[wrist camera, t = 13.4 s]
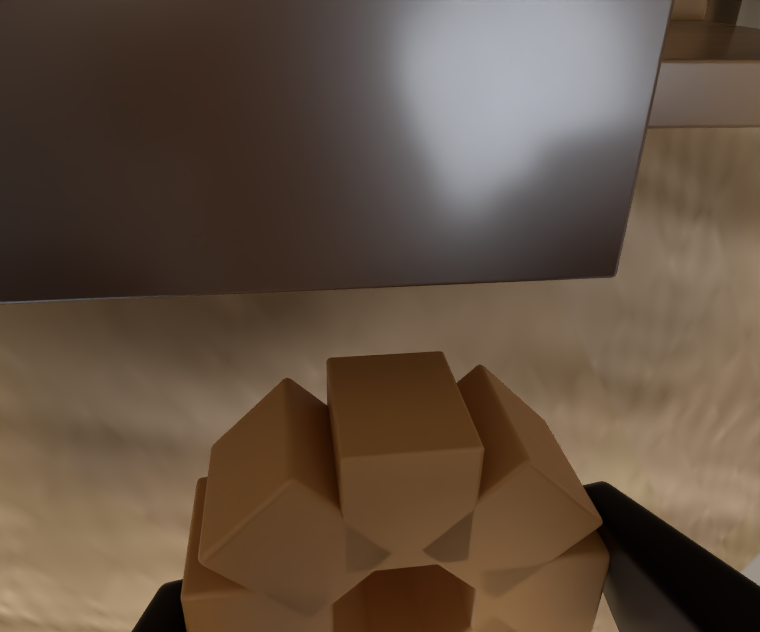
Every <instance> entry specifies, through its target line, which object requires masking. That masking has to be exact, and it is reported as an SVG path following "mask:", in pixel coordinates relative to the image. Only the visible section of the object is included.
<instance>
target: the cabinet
mask: <svg viewBox="0 0 760 632" xmlns="http://www.w3.org/2000/svg"><path fill="white" fill-rule="evenodd" d="M674 2H675V0H0V304H18V303H40V302H63V301H86V300H109V299H132V298H155V297H177V296H200V295H223V294H246V293H269V292H292V291H314V290H337V289H360V288H383V287H406V286H429V285H451V284H474V283H497V282H520V281H543V280H566V279H588V278H611V277H614V276H615V275H616V274H617V269H618V264H619V259H620V255H621V250H622V245H623V241H624V236H625V231H626V227H627V222H628V217H629V213H630V208H631V203H632V199H633V194H634V189H635V185H636V180H637V175H638V171H639V166H640V161H641V157H642V152H643V147H644V143H645V138H646V133H647V128H648V124H649V119H650V114H651V110H652V105H653V100H654V96H655V91H656V86H657V82H658V77H659V72H660V68H661V63H662V58H663V54H664V49H665V44H666V40H667V35H668V30H669V26H670V21H671V16H672V12H673V7H674Z"/></svg>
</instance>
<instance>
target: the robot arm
mask: <svg viewBox="0 0 760 632" xmlns="http://www.w3.org/2000/svg"><path fill="white" fill-rule="evenodd" d="M583 487H584V489H585V491H586V492H587V494H588V496H589V498H590V499H591V501H592V503H593V504H594V506H595V508H596V510H597V511H598V513H599V515H600V516H601V518H602V522H603V523H602V525H601V526H600V527H598V528H597V529H596V530H597V532H598V533H599V535H600V537H601V539H602V541H603V542H604V544H605V546H606V548H607V549H608V552H609V556H610V561H609V569H608V573H607V577H606V581H605V584H604V588H603V593H604V596H605V598H606V601H607V603H608V606H609V608H610V610H611V613H612V615H613V618H614V620H615V623H616V625H617V627H618V630H619V632H760V586H758V585H757V584H756V583H754V582H753V581H751V580H750V579H748V578H747V577H745V576H744V575H742V574H741V573H739V572H738V571H737V570H735V569H734V568H732V567H731V566H729V565H728V564H726V563H725V562H723V561H722V560H720V559H719V558H717V557H716V556H714V555H713V554H712V553H710V552H709V551H707V550H706V549H704V548H703V547H701V546H700V545H698V544H697V543H695V542H694V541H692V540H691V539H690V538H688V537H687V536H685V535H684V534H682V533H681V532H679V531H678V530H676V529H675V528H673V527H672V526H670V525H669V524H667V523H666V522H665V521H663V520H662V519H660V518H659V517H657V516H656V515H654V514H653V513H651V512H650V511H648V510H647V509H645V508H644V507H643V506H641V505H640V504H638V503H637V502H635V501H634V500H632V499H631V498H629V497H628V496H626V495H625V494H623V493H622V492H620V491H619V490H618V489H616V488H615V487H613V486H612V485H610V484H609V483H607V482H603V481H600V482H596V483H591V484H587V485H583ZM182 584H183V579H181V580H177V581H173V582H168V583H165V584H164V585H162V586H161V587H160V588H159V590H158V591H157V593H156V594H155V596H154V597H153V599H152V601H151V602H150V604H149V605H148V607H147V608H146V610H145V612H144V613H143V615H142V616H141V618H140V619H139V621H138V622H137V624H136V626H135V627H134V629H133V630H132V632H187V630H186V624H185V619H184V613H183V608H182V602H181V591H182Z"/></svg>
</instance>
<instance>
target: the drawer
mask: <svg viewBox="0 0 760 632" xmlns="http://www.w3.org/2000/svg"><path fill="white" fill-rule="evenodd" d="M708 2H709V0H675V2H674V7H673V12H672V16H671V21H670V26H669V30H668V35H667V40H666V44H665V49H664V54H663V58H662V63H661V68H660V72H659V77H658V82H657V86H656V91H655V96H654V100H653V105H652V110H651V114H650V119H649V124H648V128H647V129H657V128H745V127H760V0H742V3H741V7H740V11H739V15H738V19H737V22H736V25H732V24H726V23H719V22H713V21H707V20H704V19H705V15H706V10H707V6H708Z"/></svg>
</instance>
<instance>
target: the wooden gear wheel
mask: <svg viewBox="0 0 760 632" xmlns="http://www.w3.org/2000/svg"><path fill="white" fill-rule="evenodd" d="M602 523H603V522H602V518H601V516H600V515H599V513H598V511H597V510H596V508H595V506H594V504H593V503H592V501H591V499H590V498H589V496H588V494H587V492H586V491H585V489H584V487H583V486H582V484H581V482H580V480H579V479H578V477H577V475H576V474H575V472H574V470H573V468H572V467H571V465H570V463H569V462H568V460H567V458H566V456H565V455H564V453H563V451H562V450H561V448H560V446H559V444H558V443H557V441H556V439H555V438H554V436H553V434H552V432H551V431H550V429H549V427H548V426H547V424H546V422H545V421H544V420H543V419H542V418H541V417H540V416H539V415H538V414H536V413H535V412H534V411H533V410H532V409H531V408H530V407H529V406H528V405H526V404H525V403H524V402H523V401H522V400H521V399H520V398H519V397H518V396H516V395H515V394H514V393H513V392H512V391H511V390H510V389H509V388H507V387H506V386H505V385H504V384H503V383H502V382H501V381H500V380H499V379H497V378H496V377H495V376H494V375H493V374H492V373H491V372H490V371H488V370H487V369H486V368H485V367H484V366H482V365H478V366H476V367H475V368H474V369H473V370H471V371H470V372H469V373H468V374H467V375H466V376H464V377H463V378H462V379H461V380H460V381H459V382H457V383H456V381H455V379H454V377H453V374H452V372H451V370H450V367H449V365H448V363H447V360H446V358H445V356H444V353H443V352H440V351H438V352H421V353H404V354H387V355H370V356H352V357H335V358H329V359H328V360H327V405H326V404H324V403H323V402H322V401H320V400H319V399H317V398H316V397H315V396H313V395H312V394H311V393H309V392H308V391H307V390H305V389H304V388H302V387H301V386H300V385H298V384H297V383H296V382H294V381H293V380H292V379H289V378H286V379H284V380H282V381H281V382H280V383H279V384H278V385H277V386H276V387H275V388H274V389H273V390H272V391H271V392H270V393H269V394H267V395H266V396H265V397H264V398H263V399H262V400H261V401H260V402H259V403H258V404H257V405H256V406H255V407H253V408H252V409H251V410H250V411H249V412H248V413H247V414H246V415H245V416H244V417H243V418H242V419H241V420H239V421H238V422H237V423H236V424H235V425H234V426H233V427H232V428H231V429H230V430H229V431H228V432H227V433H226V434H224V435H223V436H222V437H221V438H220V439H219V440H218V441H217V442H216V443H215V444H214V445H213V446H212V449H211V454H210V462H209V471H208V477H203V478H200V479H199V480H198V481H197V485H196V492H195V499H194V506H193V513H192V520H191V527H190V534H189V541H188V548H187V556H186V563H185V570H184V577H183V584H182V591H181V602H182V608H183V613H184V619H185V624H186V630H187V632H591V631H592V629H593V625H594V621H595V618H596V614H597V610H598V606H599V603H600V599H601V595H602V592H603V588H604V584H605V581H606V577H607V573H608V569H609V561H610V556H609V552H608V549H607V548H606V546H605V544H604V542H603V541H602V539H601V537H600V535H599V533H598V532H597V530H596V529H597V528H598V527H600V526H601V525H602Z"/></svg>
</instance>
